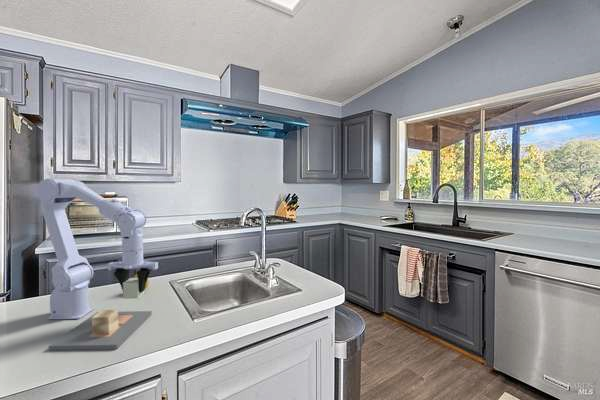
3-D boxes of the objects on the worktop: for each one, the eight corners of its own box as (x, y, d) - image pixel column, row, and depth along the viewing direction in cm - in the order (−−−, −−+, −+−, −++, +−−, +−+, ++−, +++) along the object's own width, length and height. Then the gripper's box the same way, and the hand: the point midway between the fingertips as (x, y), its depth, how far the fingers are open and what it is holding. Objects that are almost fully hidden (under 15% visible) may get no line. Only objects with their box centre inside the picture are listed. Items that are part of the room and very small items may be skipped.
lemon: (144, 288, 116) (144, 268, 115) (151, 291, 113) (151, 271, 112) (130, 292, 111) (129, 272, 111) (137, 295, 108) (136, 275, 108)
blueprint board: (49, 350, 74) (48, 345, 73) (97, 315, 92) (97, 311, 92) (117, 349, 74) (116, 344, 74) (151, 314, 93) (151, 310, 93)
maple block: (92, 335, 78) (91, 317, 78) (102, 326, 83) (102, 310, 83) (109, 334, 79) (108, 317, 78) (118, 326, 83) (117, 309, 83)
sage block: (123, 298, 89) (122, 282, 89) (130, 293, 94) (130, 278, 93) (137, 298, 89) (137, 282, 89) (144, 292, 94) (144, 277, 93)
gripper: (100, 252, 86) (102, 296, 87) (150, 252, 87) (151, 296, 88) (114, 247, 93) (115, 287, 94) (160, 247, 94) (161, 287, 95)
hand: (133, 291), depth 91 cm, fingers closed on sage block, 4 cm apart
